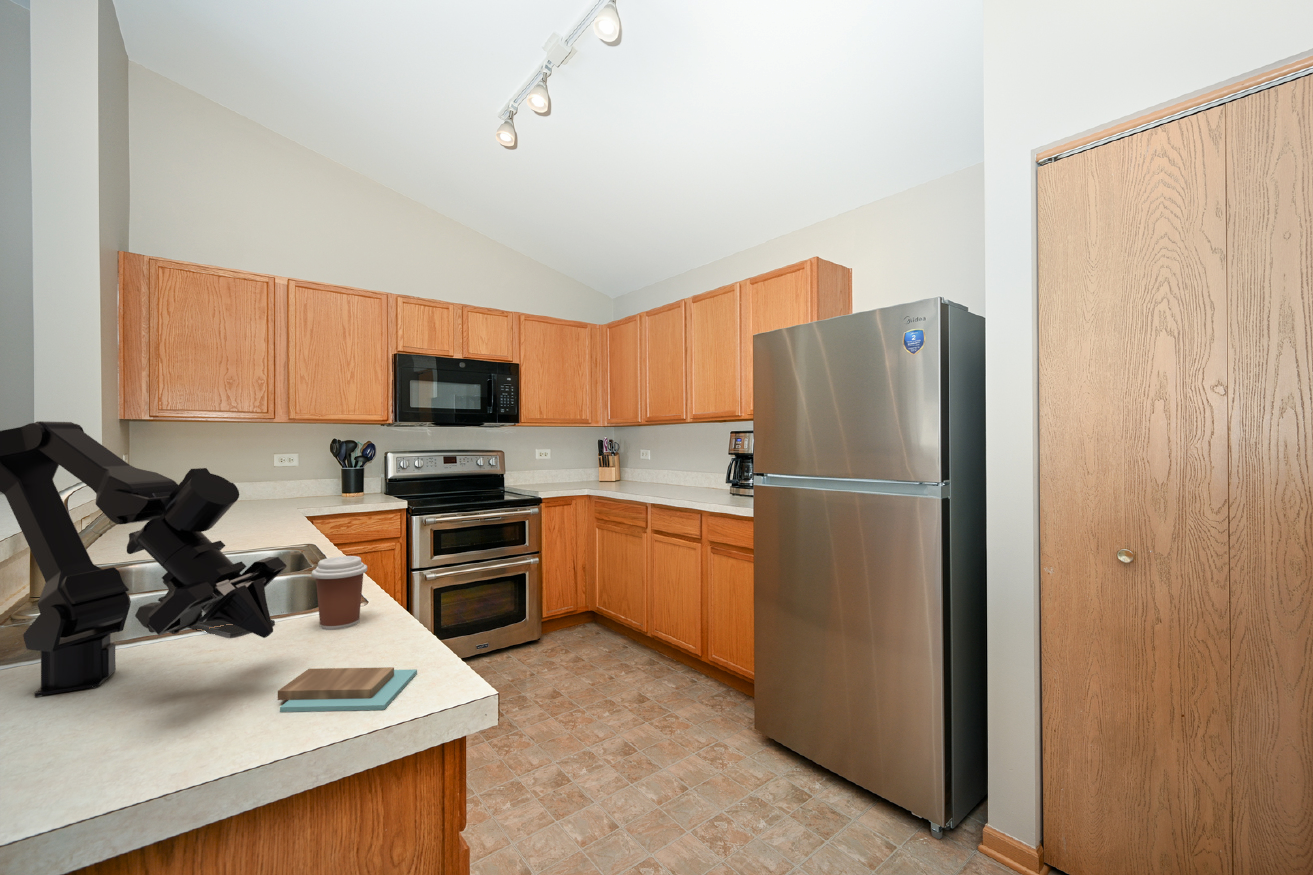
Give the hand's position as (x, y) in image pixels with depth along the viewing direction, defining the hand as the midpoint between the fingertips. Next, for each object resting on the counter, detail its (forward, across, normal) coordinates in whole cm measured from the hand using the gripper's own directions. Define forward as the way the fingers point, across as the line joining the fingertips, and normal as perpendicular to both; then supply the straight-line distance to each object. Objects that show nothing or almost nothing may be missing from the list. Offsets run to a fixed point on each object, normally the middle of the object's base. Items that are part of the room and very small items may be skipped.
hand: (269, 634), depth 76 cm
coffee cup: (+3, -28, -9) cm, 30 cm away
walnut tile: (+7, 0, -2) cm, 7 cm away
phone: (-11, -28, -24) cm, 38 cm away
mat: (+14, 0, +3) cm, 14 cm away
